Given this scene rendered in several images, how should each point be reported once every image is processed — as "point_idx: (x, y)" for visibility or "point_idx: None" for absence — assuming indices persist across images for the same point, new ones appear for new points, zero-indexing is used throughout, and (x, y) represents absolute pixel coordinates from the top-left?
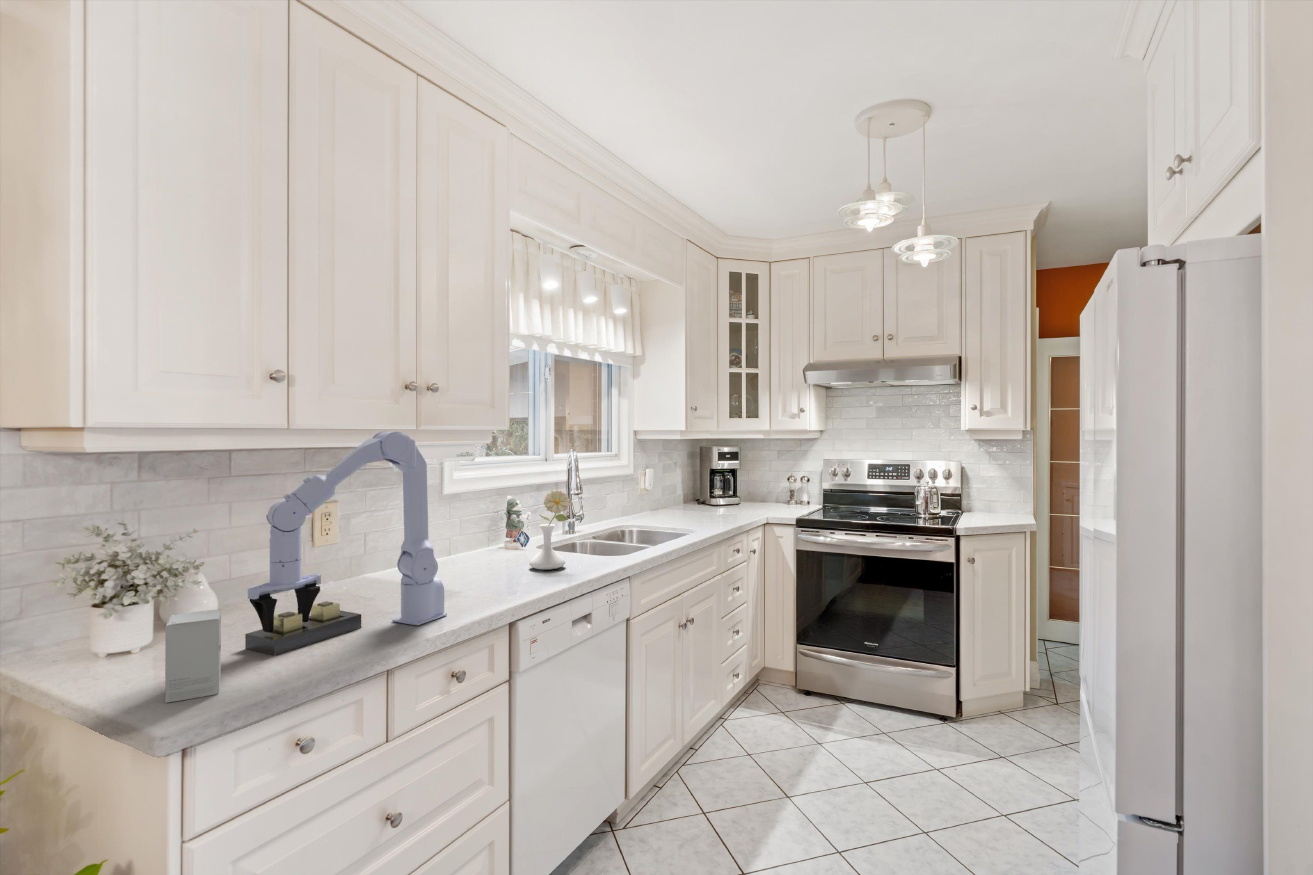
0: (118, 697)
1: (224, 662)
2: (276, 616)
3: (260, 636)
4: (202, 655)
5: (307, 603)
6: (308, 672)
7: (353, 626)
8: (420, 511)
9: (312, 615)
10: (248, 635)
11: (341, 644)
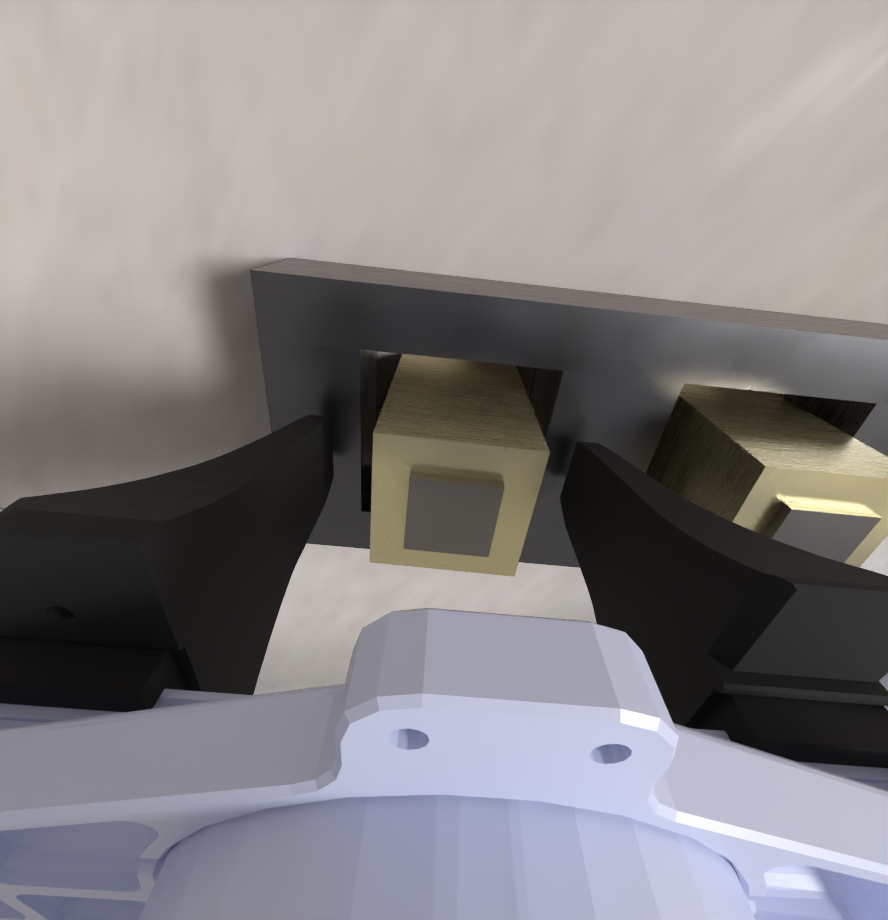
0: None
1: (119, 362)
2: (388, 477)
3: (280, 426)
4: None
5: (600, 614)
6: (277, 674)
7: None
8: None
9: (708, 442)
10: (259, 309)
11: (523, 604)
